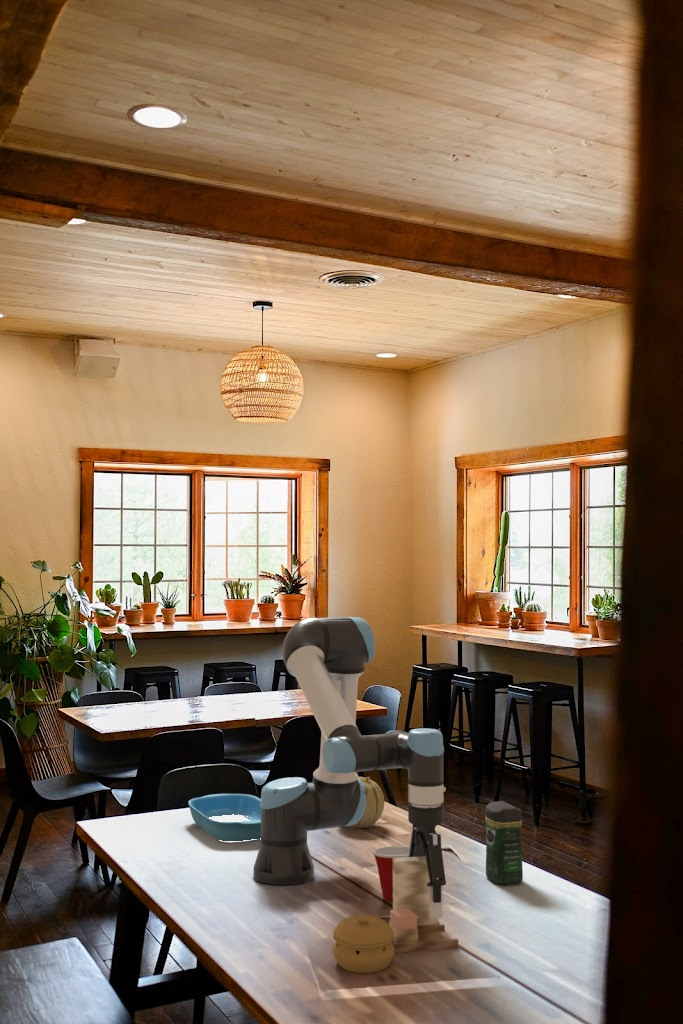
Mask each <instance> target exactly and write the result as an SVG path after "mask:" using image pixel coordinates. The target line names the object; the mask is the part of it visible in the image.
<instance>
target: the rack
mask: <svg viewBox="0 0 683 1024" xmlns="http://www.w3.org/2000/svg"><path fill="white" fill-rule="evenodd" d="M376 917H377V918H380V919H382V920H384V921H385V922H387V923H388V924H389V921H390V915H379V916H378V915H377V916H376ZM417 929H418V941H413V942H399V943H393V941H392V942H391V943H392V945H393V947H394V954H395V953H405V952H406V953H407V952H419V951H420V952H421V951H423V952H424V951H434V950H435V951H437V950H446V949H458V948H459V939H458V938H457V937H456V938H452V937H450V935H449V933H448V932H447V931H446V930H445V929H446V928H445V924H444V923H440V922H439V921H438V924H433V925H419V926H417Z"/></svg>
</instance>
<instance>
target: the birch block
mask: <svg viewBox="0 0 683 1024" xmlns="http://www.w3.org/2000/svg"><path fill="white" fill-rule="evenodd" d="M436 879H438V878H436ZM428 882H430V879H429V874H428V869H427V863H426V858H425V856H421V857H403V858H393V902H392V910H398V909H406V908H409V909H410V910H411V911H412V912H413V913H415V914H416V915H417V926H419V925H433V924H438V922H439V918H431V919H430V918H429V887H428V886H427V883H428Z"/></svg>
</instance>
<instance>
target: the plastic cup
mask: <svg viewBox="0 0 683 1024" xmlns="http://www.w3.org/2000/svg"><path fill="white" fill-rule="evenodd" d="M409 852H410V846H403V845H391V846H383V847H377V848H375V849H373V850H372V855H373V856H374V859H375V862H376V866H377V872H378V877H379V883H380V887H381V894H382V898H383V899H384V900H385V901H388V902H392V903H393V858H403V857H409Z"/></svg>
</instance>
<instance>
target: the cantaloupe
mask: <svg viewBox="0 0 683 1024" xmlns="http://www.w3.org/2000/svg"><path fill="white" fill-rule="evenodd" d="M358 779H359V780H361V781H362V783H363V785H364V788H365V792H364V793H365V794H366V805H365V810H364V813H363V816H362V817H361V819H360V820H359V821H358V822H357V823H356V824H354V825H349V827H351V828H356V829H365V828H369V827H371V826H373V825H375V824H376V823H377V822H378V821H379V819H380V818H381V816H382V815H383V812H384V809H385V795H384V793H383V791H382V789H381V787H380V786H379V785H378V783H376V782H375V781H374V780H372V779H371V777H370V776H367V777H363V776H358Z"/></svg>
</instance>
